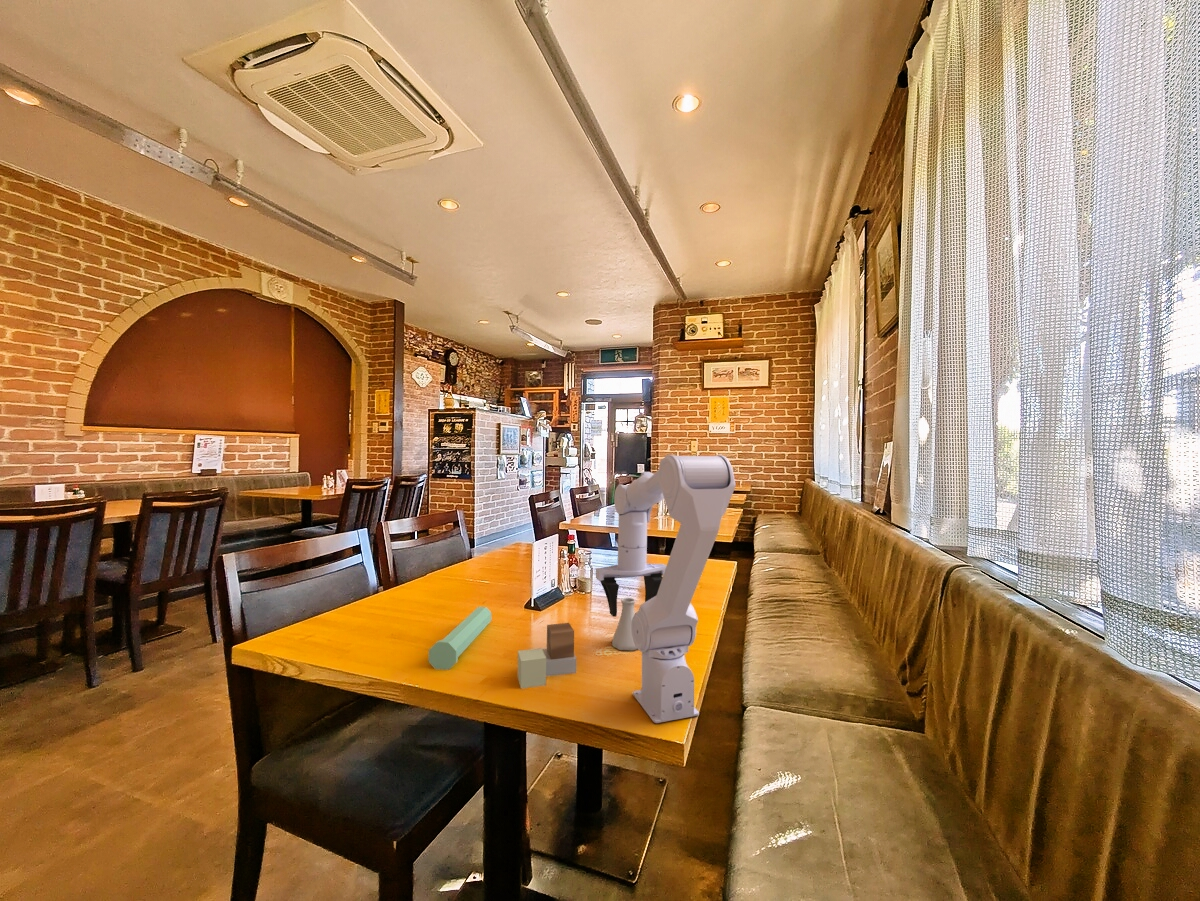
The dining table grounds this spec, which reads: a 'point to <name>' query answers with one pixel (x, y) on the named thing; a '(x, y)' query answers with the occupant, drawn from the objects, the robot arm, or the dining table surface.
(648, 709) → the robot arm
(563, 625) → the walnut block
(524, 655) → the sage block
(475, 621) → the green octagonal rod
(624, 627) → the flask
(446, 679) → the dining table surface
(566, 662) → the stone slab
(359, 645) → the dining table surface
